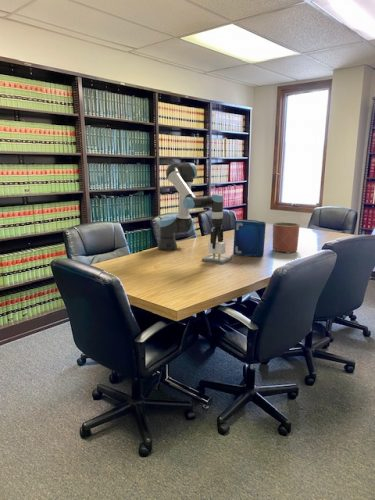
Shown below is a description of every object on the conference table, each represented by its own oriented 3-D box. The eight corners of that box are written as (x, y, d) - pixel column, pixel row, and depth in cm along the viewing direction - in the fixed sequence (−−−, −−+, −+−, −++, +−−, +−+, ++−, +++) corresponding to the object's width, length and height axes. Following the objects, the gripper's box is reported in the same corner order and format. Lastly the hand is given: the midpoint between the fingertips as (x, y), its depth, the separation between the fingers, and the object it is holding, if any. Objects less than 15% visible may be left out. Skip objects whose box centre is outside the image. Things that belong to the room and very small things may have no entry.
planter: (266, 250, 274) (267, 224, 270) (279, 246, 288) (280, 221, 283) (290, 254, 262) (291, 227, 257) (302, 250, 275) (304, 223, 271)
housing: (208, 252, 247) (208, 242, 245) (212, 251, 251) (212, 241, 250) (221, 254, 241) (221, 244, 240) (225, 252, 246) (225, 242, 244)
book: (265, 255, 261) (266, 220, 255) (263, 257, 254) (265, 221, 249) (234, 253, 268) (235, 219, 262) (232, 255, 261) (233, 220, 256)
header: (201, 260, 247) (201, 253, 246) (211, 257, 257) (211, 250, 256) (222, 264, 238) (222, 256, 237) (231, 260, 248) (231, 253, 247)
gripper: (214, 220, 232) (214, 255, 237) (228, 216, 246) (228, 250, 252) (204, 219, 236) (204, 254, 241) (219, 215, 251) (218, 249, 256)
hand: (216, 252), depth 246 cm, fingers closed on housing, 6 cm apart
